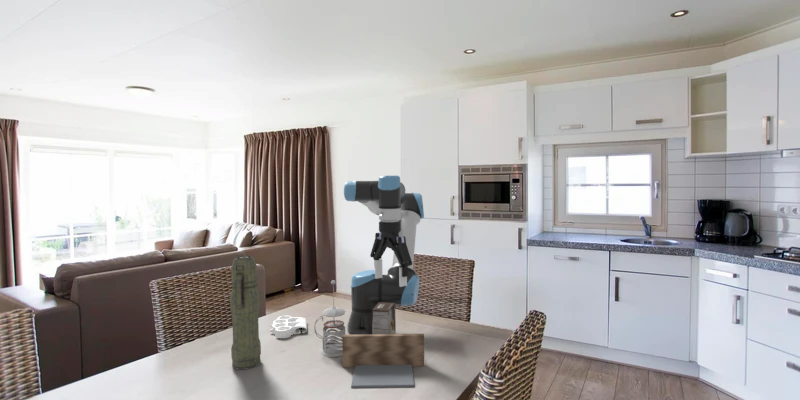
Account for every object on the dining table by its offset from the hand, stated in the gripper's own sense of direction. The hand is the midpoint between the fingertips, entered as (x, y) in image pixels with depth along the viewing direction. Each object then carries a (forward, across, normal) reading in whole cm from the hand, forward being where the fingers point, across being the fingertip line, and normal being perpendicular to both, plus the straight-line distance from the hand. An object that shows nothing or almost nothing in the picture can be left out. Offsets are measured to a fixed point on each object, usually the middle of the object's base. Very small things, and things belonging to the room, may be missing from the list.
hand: (390, 281), depth 138 cm
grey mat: (+24, +13, -13) cm, 30 cm away
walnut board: (+24, +7, -9) cm, 27 cm away
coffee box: (+25, -1, -2) cm, 25 cm away
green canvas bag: (+24, -23, -42) cm, 54 cm away
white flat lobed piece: (+26, -43, -19) cm, 53 cm away
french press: (+25, -14, -16) cm, 32 cm away
